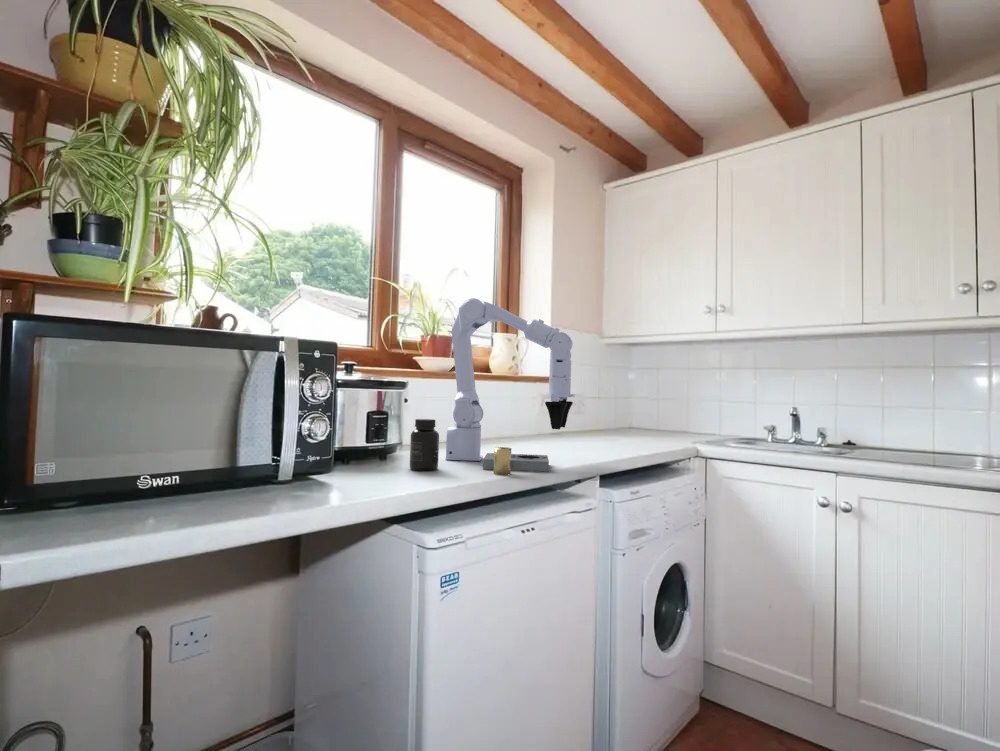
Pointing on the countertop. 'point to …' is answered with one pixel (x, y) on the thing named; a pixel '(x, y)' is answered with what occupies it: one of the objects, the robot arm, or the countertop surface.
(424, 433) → the supplement bottle
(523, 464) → the jig
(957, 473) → the countertop surface
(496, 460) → the bushing
